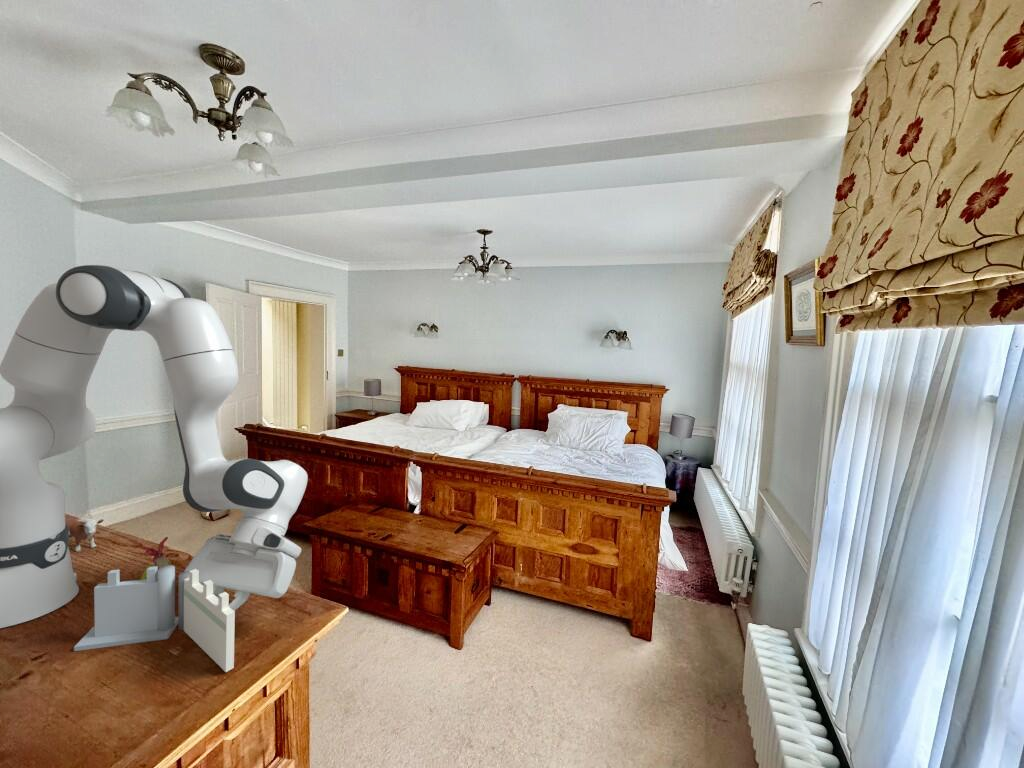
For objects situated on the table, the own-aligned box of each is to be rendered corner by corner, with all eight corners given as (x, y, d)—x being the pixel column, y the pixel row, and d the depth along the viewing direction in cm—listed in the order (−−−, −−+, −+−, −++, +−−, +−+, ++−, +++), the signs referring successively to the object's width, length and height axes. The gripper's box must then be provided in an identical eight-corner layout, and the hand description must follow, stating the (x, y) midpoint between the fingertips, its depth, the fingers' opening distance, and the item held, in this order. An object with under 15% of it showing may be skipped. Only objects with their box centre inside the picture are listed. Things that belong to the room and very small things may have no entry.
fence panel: (176, 627, 75) (176, 564, 74) (189, 621, 77) (189, 560, 76) (223, 674, 66) (224, 603, 65) (236, 666, 68) (237, 597, 67)
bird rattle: (185, 593, 89) (169, 564, 92) (194, 556, 85) (177, 527, 89) (148, 608, 83) (133, 576, 87) (156, 569, 80) (140, 538, 84)
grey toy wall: (74, 651, 69) (72, 582, 67) (93, 630, 73) (92, 566, 72) (167, 638, 73) (167, 573, 72) (180, 620, 78) (180, 559, 76)
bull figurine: (88, 557, 95) (87, 524, 94) (45, 547, 98) (44, 515, 97) (109, 548, 99) (109, 517, 98) (68, 539, 102) (67, 508, 101)
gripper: (201, 527, 81) (154, 604, 72) (293, 541, 77) (254, 624, 69) (221, 537, 86) (180, 610, 77) (309, 550, 82) (275, 628, 74)
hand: (216, 617), depth 73 cm, fingers closed
